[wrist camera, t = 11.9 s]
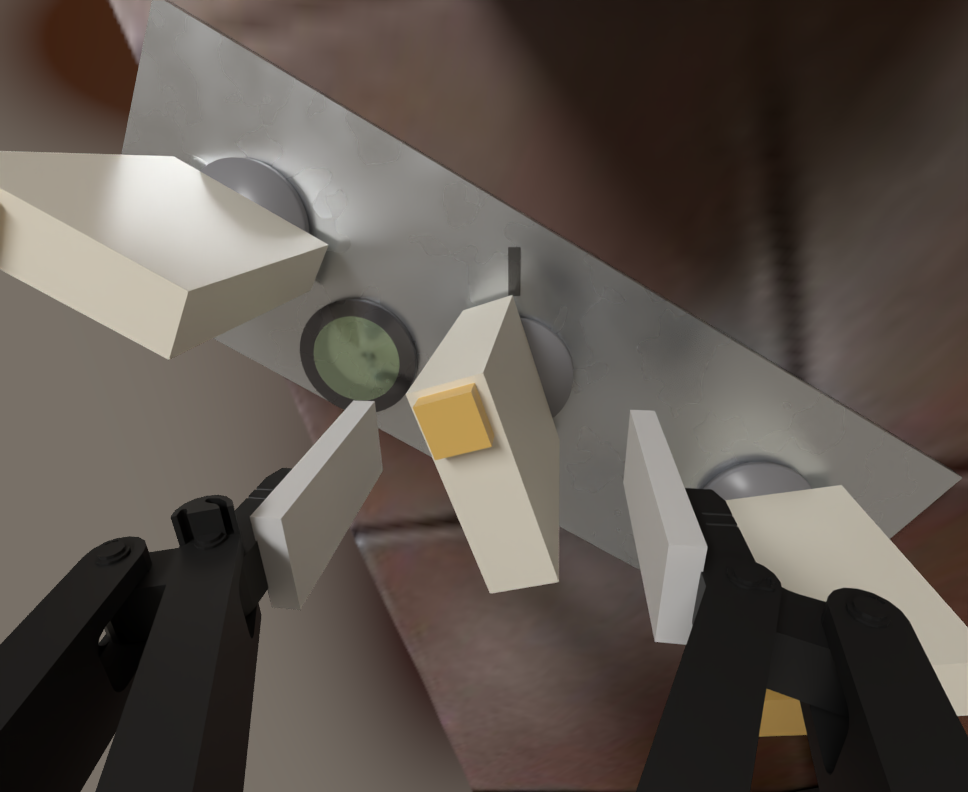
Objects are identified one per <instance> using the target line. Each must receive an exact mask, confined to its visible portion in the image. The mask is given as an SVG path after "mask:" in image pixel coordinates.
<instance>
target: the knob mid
mask: <svg viewBox="0 0 968 792" xmlns="http://www.w3.org/2000/svg"><path fill="white" fill-rule="evenodd" d="M572 386H573V365H572V361H571V357H570V354H569V352H568V350H567V348H566V346H565V344H564V343H563V342H562V340H561V339H560V338H559V337H558V336H557V335H556V334H555V333H554V332H553V331H552V330H551V329H549V328H548V327H546V326H544V325H543V324H541V323H539V322H536V321H534V320H530V319H527V318H520V316H519V313H518V310H517V307H516V304H515V301H514V298H513V295H510V296H507V297H504V298H501V299H498V300H495V301H491V302H488V303H485V304H482V305H479V306H475V307H472V308H469V309H466V310H463V311H462V313H461V314H460V316H459V317H458V318H457V320H456V321H455V323H454V324H453V326H452V327H451V329H450V330H449V332H448V333H447V335H446V336H445V337H444V339H443V340H442V342H441V343H440V345H439V346H438V348H437V349H436V351H435V352H434V353H433V355H432V356H431V358H430V359H429V361H428V362H427V364H426V365H425V367H424V368H423V370H422V371H421V372H420V374H419V375H418V377H417V378H416V380H415V381H414V383H413V384H412V386H411V387H410V388H409V390H408V391H407V393H406V397H407V399H408V401H409V404H410V406H411V408H412V411H413V413H414V415H415V418H416V420H417V423H418V425H419V427H420V430H421V432H422V434H423V437H424V439H425V441H426V444H427V446H428V448H429V451H430V453H431V455H432V458H433V460H434V463H435V465H436V467H437V470H438V472H439V474H440V477H441V479H442V481H443V484H444V486H445V488H446V491H447V493H448V496H449V498H450V500H451V503H452V505H453V507H454V510H455V512H456V514H457V517H458V519H459V521H460V524H461V526H462V528H463V531H464V533H465V536H466V538H467V540H468V543H469V545H470V547H471V550H472V552H473V554H474V557H475V559H476V561H477V564H478V566H479V568H480V571H481V573H482V576H483V578H484V580H485V583H486V585H487V587H488V590H489V592H490V594H491V593H497V592H503V591H509V590H515V589H521V588H527V587H533V586H539V585H545V584H551V583H557V582H559V465H560V440H559V437H558V434H557V431H556V428H555V424H554V421H553V418H554V417H555V416H556V415H557V414H558V413H559V412H560V411H561V410H562V408H563V407H564V406H565V404H566V402H567V400H568V399H569V396H570V393H571V390H572Z"/></svg>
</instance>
